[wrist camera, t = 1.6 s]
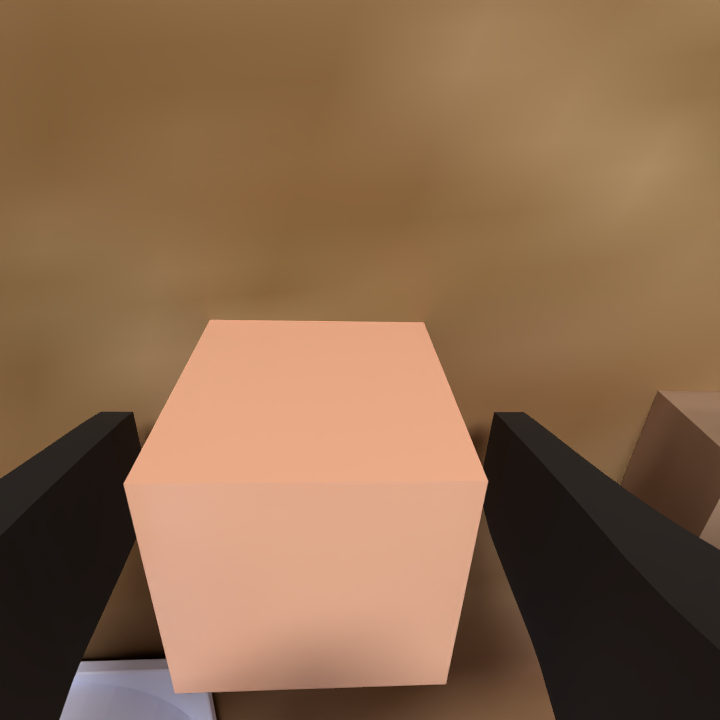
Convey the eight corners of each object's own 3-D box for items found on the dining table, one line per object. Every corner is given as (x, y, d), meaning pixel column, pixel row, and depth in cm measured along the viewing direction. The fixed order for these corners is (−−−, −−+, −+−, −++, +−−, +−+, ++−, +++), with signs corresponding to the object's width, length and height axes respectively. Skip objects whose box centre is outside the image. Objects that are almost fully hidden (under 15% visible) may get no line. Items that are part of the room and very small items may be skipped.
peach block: (406, 481, 13) (446, 683, 8) (229, 482, 13) (175, 693, 8) (423, 321, 11) (488, 481, 6) (210, 318, 10) (122, 483, 6)
